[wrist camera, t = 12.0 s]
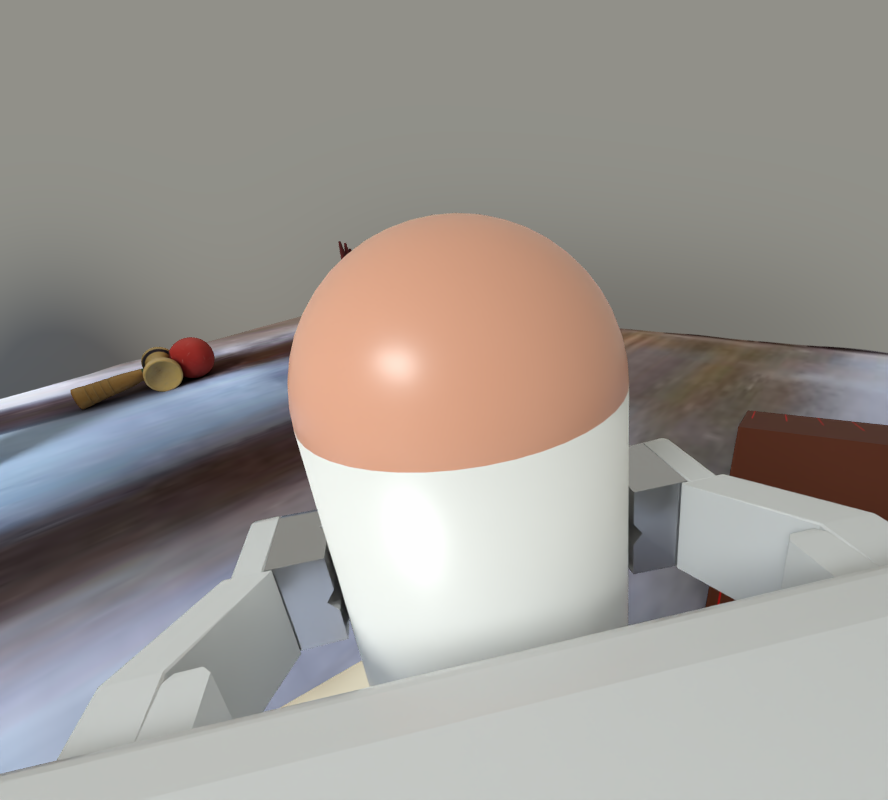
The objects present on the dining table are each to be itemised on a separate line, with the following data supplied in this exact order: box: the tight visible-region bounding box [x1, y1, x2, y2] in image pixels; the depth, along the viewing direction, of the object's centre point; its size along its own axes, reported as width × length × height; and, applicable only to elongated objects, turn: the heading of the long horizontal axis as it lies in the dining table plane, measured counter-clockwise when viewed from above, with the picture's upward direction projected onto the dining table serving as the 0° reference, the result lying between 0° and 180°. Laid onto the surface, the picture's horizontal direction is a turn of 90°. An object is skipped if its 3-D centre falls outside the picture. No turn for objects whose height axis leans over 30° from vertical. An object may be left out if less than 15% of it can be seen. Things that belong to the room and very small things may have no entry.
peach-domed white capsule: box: [288, 213, 629, 687], centre depth 9 cm, size 5×5×14 cm
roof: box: [706, 411, 888, 607], centre depth 27 cm, size 24×11×5 cm, turn 146°
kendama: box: [71, 337, 214, 410], centre depth 68 cm, size 8×6×18 cm
